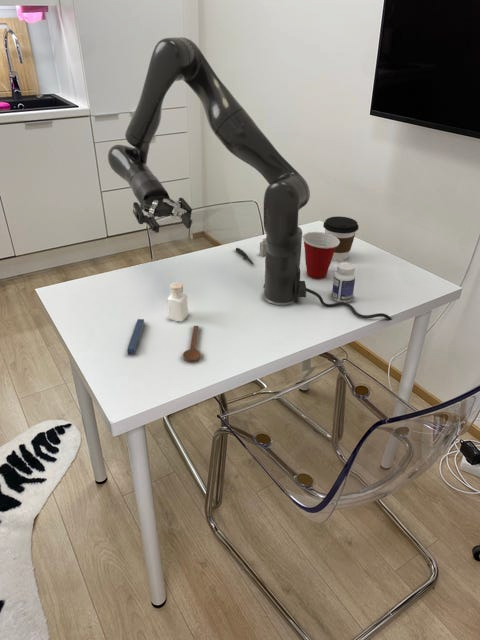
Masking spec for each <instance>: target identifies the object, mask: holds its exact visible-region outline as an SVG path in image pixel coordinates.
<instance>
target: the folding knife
mask: <svg viewBox="0 0 480 640" xmlns="http://www.w3.org/2000/svg"><path fill="white" fill-rule="evenodd" d="M235 252H236V253H237V254H239V255H240V256H242V257H243V260H246V261H247V262H248V263H249V264H251V265H254V262H253V261H252V259H251V258H250V257H249V255H248V254H247V253H246V252H245V251H244V250H243V249H241V248H240V247H235Z"/></svg>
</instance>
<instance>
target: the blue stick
mask: <svg viewBox="0 0 480 640" xmlns="http://www.w3.org/2000/svg"><path fill="white" fill-rule="evenodd" d="M144 327H145V319H144V318H137V321H136V323H135V326H134V329H133V331H132V335H131V338H130V340H129V343H128V346H127V349H126V351H127V355H128V356H129V355H130V356H131V355H132V356H134V355H136V352H137V350H138V346H139V343H140V340H141V337H142V333H143V330H144Z"/></svg>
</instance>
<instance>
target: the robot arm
mask: <svg viewBox="0 0 480 640" xmlns="http://www.w3.org/2000/svg"><path fill="white" fill-rule="evenodd" d="M179 81H183V82H184V83H186V85H188V86H189V88H190V89H191V90H192V92H193V93H194V94H195V95H196V96H197V98H198V99H199V101H200V102H201V104H202V107H203V109H204V113H205V116H206V120H207V122H208V125H209V127H210V129H211V131H212V132H213V134H214V135H215V136H216V138H217V139H218V140H219V141H220V143H221V144H222V145H223V146H224V148H226V149H227V151H228V152H230V154H232V155H233V156H235V158H237V159H239V160H241V161H243V162H244V163H245V164H247V165H248V166H250V167H252V168H253V169H255V170H256V171H257V172H258V173H259V174H260V175H261V176H262V177H263V178H264V180H265V181H266V182H267V183H268V186H267V187H266V189H265V191H264V194H263V228H264V229H263V230H264V232H265V234H266V235H265V238H266V256H264V257H265V260H264V283H263V299H264V300H265V301H266V302H267V303H268V304H271V305H274V306H289V305H292V304H298V303H299V298H307V293H309V294H310V295H313V296H315V297H317V298H318V300H319V302H320V304H321V305H322V306H323V307H326V308H334V307H338V306H344V307H347V308H348V309H350V311H351V312H352V313H353V315H354V316H356V317H357V318H361V319H373V318H379V317H381V318H382V317H383V318H385V319H387V321H393V318H392V317H390V315H389V314H387V313H381V312H380V313H373V314H361V313H359V312H357V311H356V309H355V308H354V306H353V305H351V303H349V302H346V303H345V302H334V303H326V302H325V301H324V299H323V297H322V295H321V294H320V293H318V292H317V291H314V290H312V289H310V288H308V287H307V285H306V281H305V280H301V274H302V273H301V255H302V243H303V237H302V236H303V230H302V228H301V227H300V226H298V225H299V211H300V210H301V209H303V208H304V207H305V206H306V205H307V204H308V202H309V201H310V198H311V190H310V186H309V184H308V182H307V181H306V180H305V178H304V177H303V176H302V175H301V173H299V172H298V171H297V169H296V168H294V167H293V166H292V164H290V163H289V162H288V161H287V160H286V159H285V158H284V157H283V156H282V155H281V153H280V152H279V151H278V150H277V149H276V147H275V146H274V144H272V142H271V141H270V139H269V138H267V136H266V135H265V133H264V132H263V131H262V130H261V128H260V127H259V126H258V124H256V121H254V119H253V118H252V117H251V116H250V115H249V113H248V112H247V111H246V109H245V108H244V107H243V105H241V104H240V102H239V101H238V100H237V99H236V98H235V97H234V94H232V93H231V91H230V90H229V89H228V88H227V86H226V85H225V84H224V83H223V82H222V81H221V79H220V78H219V76H218V75H217V74H216V72H215V70H214V69H213V68H212V66H211V65H210V63H209V61H208V60H207V58H206V57H205V56H204V54H203V52H202V50H201V49H200V48H199V46H198V45H197V44H196V43H195V42H194V41H193V40H192V39H189V38H187V37H177V36H176V37H173V36H172V37H164V38H162V39H160V40H159V41H158V42H157V43H156V44H155V46H154V48H153V51H152V53H151V57H150V60H149V64H148V68H147V73H146V76H145V79H144V83H143V86H142V89H141V90H142V91H141V94H140V97H139V100H138V103H137V106H136V108H135V110H134V113H133V115H132V117H131V119H130V121H129V124H128V126H127V128H126V130H125V134H124V137H125V140H126V141H127V143H129V145H130V146H128V145H124V144H114V145H112V146H111V147H110V148H109V150H108V153H107V162H108V165H109V166H110V169H112V170H113V172H114V173H115V174H117V175H118V176H119V177H120V178H121V179H123V180H124V181H125V182H127V184H128V186H129V187H130V188H131V191H132V193H133V195H134V197H135V198H136V199H137V201H134V202H133V204H132V214H133V215H134V217H135V219H136V221H137V223H138V224H139V225H144V224H146V225H147V226H149V228H150V229H151V231H152V232H154V233H155V234H157V233H159V232H160V224H159V223H158V222H157V220H156V218H162V217H170V218H173V219H175V220H176V219H178V220H181V222H182V224H183V225H184V226H185V228H186V229H187V230H188V229H191V227H192V223H193V220H192V212H193V208H192V207H191V206H190V204H189V203H188V202H187V201H186V200H185V199H184V197H179V198H178V200H173V199H172V198H170V194H169V193H168V191H167V190H166V188H165V187H164V186H163V184H162V182H161V181H160V180H159V179H158V177H157V176H156V175H155V174H154V173H153V172H152V170H151V169H150V168H149V166H148V165H147V163H148V155H149V151H150V146H151V143H152V141H153V139H154V137H155V135H156V133H157V131H158V129H159V127H160V123H161V120H162V109H163V103H164V99H165V97H166V95H167V93H168V91H169V90H170V89H171V87H172V85H173V84H174V83H175V82H179ZM173 211H174V212H173ZM144 212H146V213H147V214H146V215H145V214H144Z"/></svg>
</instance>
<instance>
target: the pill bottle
mask: <svg viewBox="0 0 480 640" xmlns="http://www.w3.org/2000/svg"><path fill="white" fill-rule="evenodd" d="M355 271H356V266H355V264H353V263H352V262H346V261H345V262H344V261H342V262H339V263H338V264H337V265H336V271H335V272H334V274H333V280H332V281H333V282H332V290H331V299H332V300H333V301H334V302H336V303H338V302H345V303H349V302H351V301H352V300H353V298H354V291H355V284H356V273H355Z"/></svg>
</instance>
